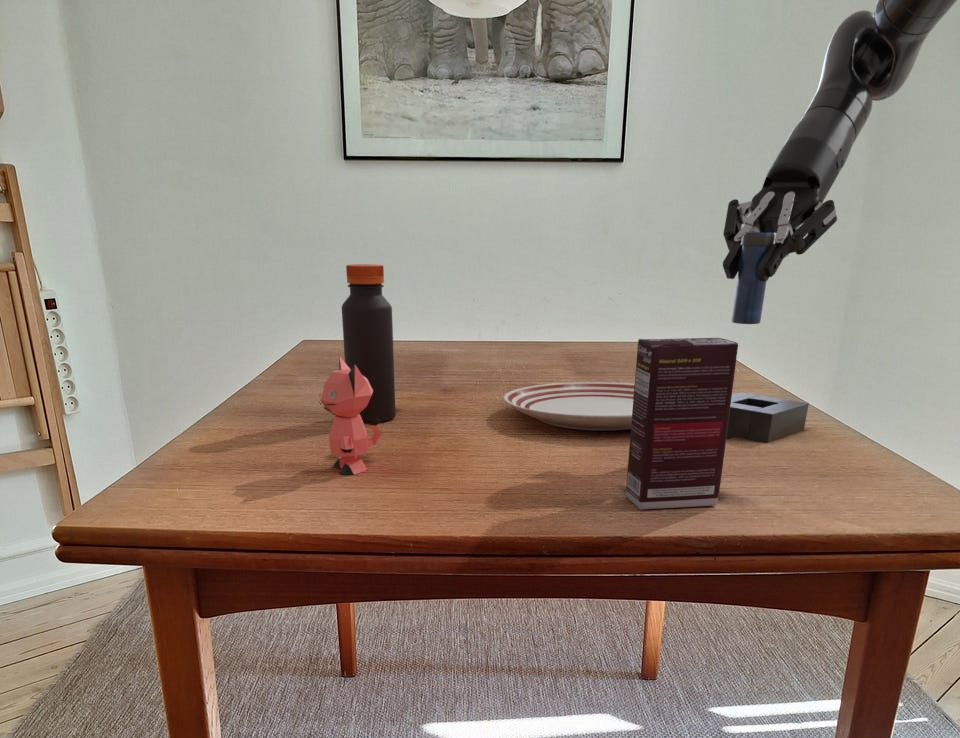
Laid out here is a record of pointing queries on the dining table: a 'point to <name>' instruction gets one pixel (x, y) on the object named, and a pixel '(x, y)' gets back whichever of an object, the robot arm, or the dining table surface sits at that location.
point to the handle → (751, 278)
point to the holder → (764, 417)
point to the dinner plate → (577, 404)
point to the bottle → (370, 338)
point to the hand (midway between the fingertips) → (744, 274)
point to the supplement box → (679, 421)
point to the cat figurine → (349, 417)
